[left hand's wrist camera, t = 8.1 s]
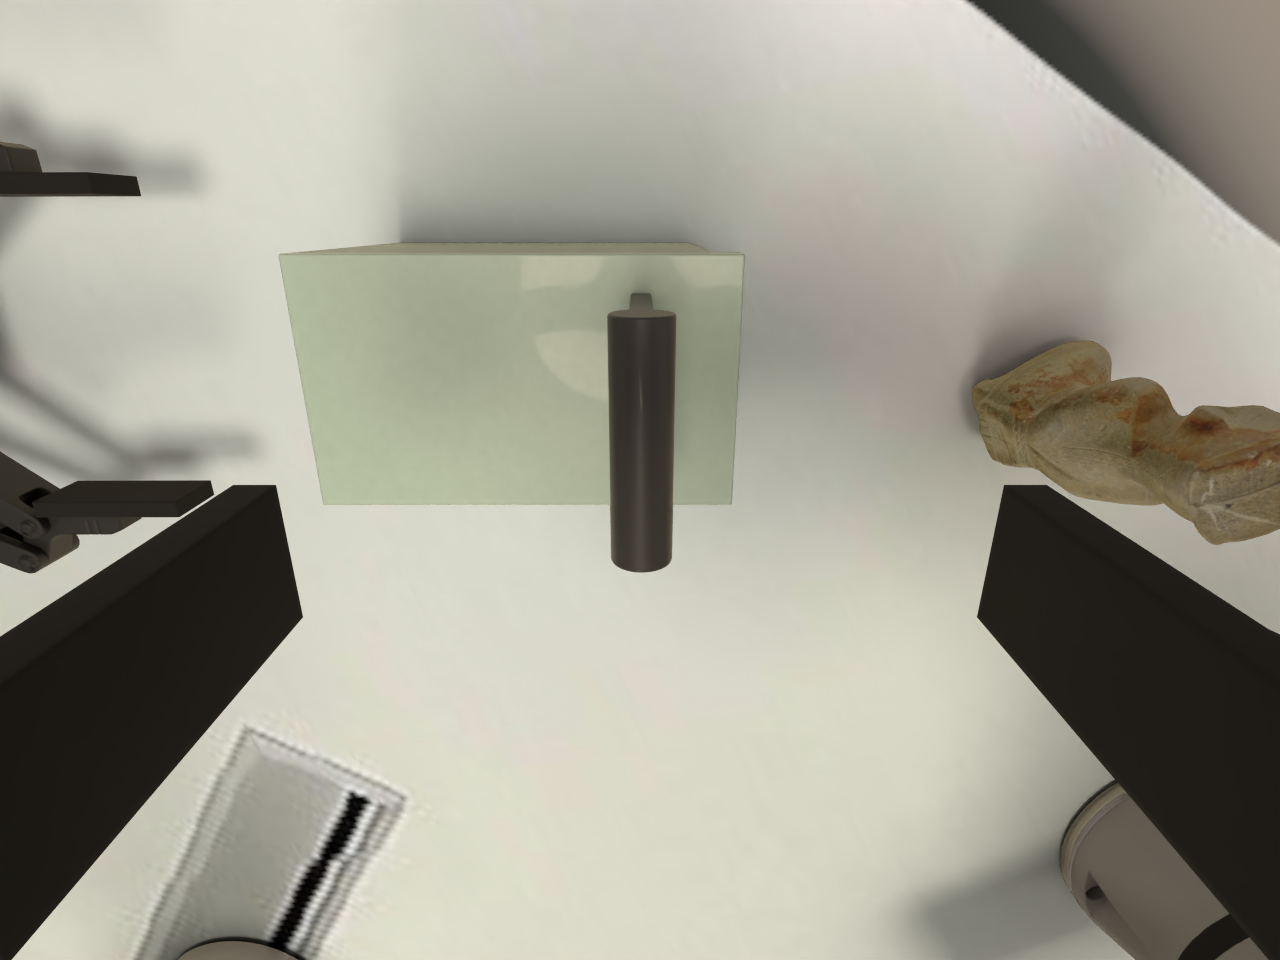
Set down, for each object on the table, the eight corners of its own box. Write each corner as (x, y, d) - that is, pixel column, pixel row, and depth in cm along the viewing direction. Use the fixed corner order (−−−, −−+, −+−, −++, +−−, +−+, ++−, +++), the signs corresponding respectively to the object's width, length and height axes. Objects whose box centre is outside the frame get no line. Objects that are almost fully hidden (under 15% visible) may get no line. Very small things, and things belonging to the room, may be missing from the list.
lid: (740, 252, 24) (791, 268, 16) (728, 493, 27) (766, 608, 19) (293, 252, 24) (118, 268, 16) (335, 494, 27) (207, 609, 19)
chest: (691, 243, 34) (713, 252, 24) (686, 417, 38) (705, 493, 27) (398, 242, 34) (294, 252, 24) (420, 417, 38) (336, 493, 27)
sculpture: (1098, 420, 37) (1372, 540, 23) (967, 462, 38) (1156, 602, 24) (1085, 319, 35) (1376, 383, 21) (947, 365, 36) (1141, 457, 22)
